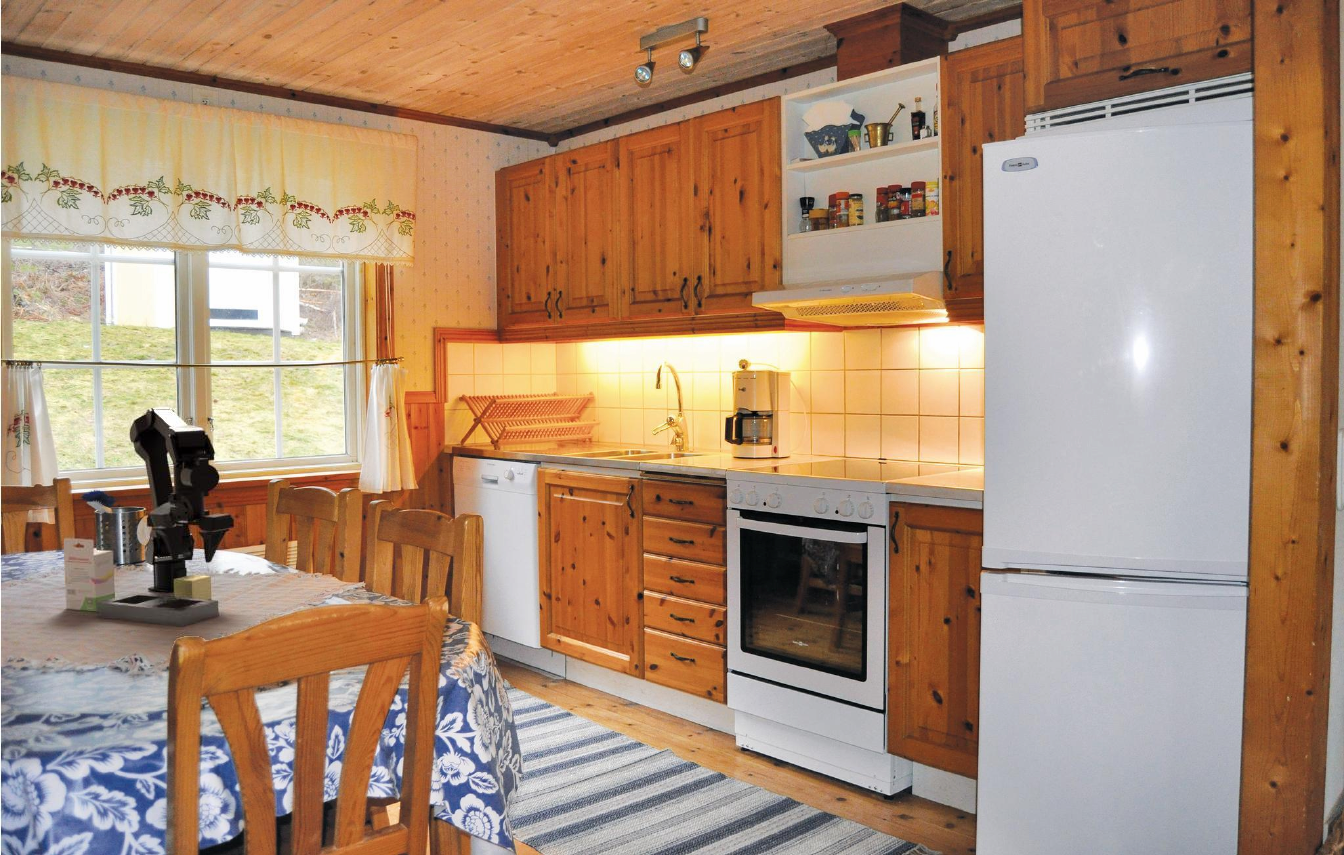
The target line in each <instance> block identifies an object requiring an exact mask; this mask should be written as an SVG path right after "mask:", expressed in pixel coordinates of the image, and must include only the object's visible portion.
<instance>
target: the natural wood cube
mask: <svg viewBox="0 0 1344 855" xmlns="http://www.w3.org/2000/svg"><path fill="white" fill-rule="evenodd" d="M173 594H174V597H184V598H195V599H205V600H212V577H211V576H210V575H199V574H190V575H187V576H185V577H181V578H177V579H174V591H173Z"/></svg>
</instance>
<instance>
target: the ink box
mask: <svg viewBox="0 0 1344 855" xmlns="http://www.w3.org/2000/svg"><path fill="white" fill-rule="evenodd" d="M94 542H95V541H94V539H85V538H66V537H65V538H64V539H63V561H64V563H63V564H64V565H63V566H64V580H65V581H64V582H65V583H64V584H65V585H64V586H65V587H64V588H65V605H66V606H65V607H66V609H67V610H77V611H86V612H97V602H100V601H104V600H108V599H113V598H116V589H115V570H114V566H115V565H114V551H113V550H98V549H97V550H96V549H94V546H95V545H94V544H95V543H94ZM78 544H79V545H82V546H83V547H75V546H74V545H78Z"/></svg>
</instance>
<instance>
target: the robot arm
mask: <svg viewBox="0 0 1344 855" xmlns="http://www.w3.org/2000/svg"><path fill="white" fill-rule="evenodd" d="M129 440H130V443H132V444H133V448H134V452H135V454H137V455H138V456H139V457H140V458H141V459H142V460H143V461H144V464H145V469H146V475H147V480H148V485H149V486H148V487H149V491H150V496H151V503H152V509H153V510H151V511H150V512H149V514H148V515H147V517H146V527H149V528H151V530H150V532H149V539H148V543H147V545H146V548H145V552H144V557H145V563H146V564H148V565H151V566H153V567H152V572H153V586H150V587H148V588H147V590H148V591H153V592H155V591H156V592H165V593H172V592H174V579H177V578H181V577H185V576H188V573H187V569H188V568H187V566H186V561H193V557H194V550H195V549H194V548H195V541H196V540H195V538H194V536H193V534H192V533H191V531H190V526H198V528H199V529H200V530H201V531H198V534H199V536H200V537H201V538H202V540H203V553H204V561H205V563H207V564H208V563H211V562H213V561H212V560H213V559H214V556H215V554H216V552H217V549H218V548H219V546H220V543H221V541H222V540H223V538H224V537H225V534H226V533H227V532H230V529H231V528H234V527H235V523H234V522H235V518H234V517H233V516H232V514H231V513H230V514H229V513H214V514H210V510H209V509H206V506H205V504H206V503H205V497H209V496H210V495H209V494H210V491H212V490H214V489H215V488H216V487H217V486H218V484H219V482H220V474H219V472H218V469H217V468H216V467H214V466H213V465H212V464H210V462H209V461H215V454H216V451H215V449H214V446H213V443H212V440H211V439H210V437H209V435H208V433H207V432H206V431H205V429H204V428H202V427H200V426H196V425H190V424H189V425H188V424H187V423H186V422H185V421H183V420H182V419H181V418H180V417H179V416H178V415H177V414H176V413H175V410H174V408H171V407H169V406H168V407H151V408H148V409H147V410H146V412H145V413H144V414H143V415H141V416H138V417H137V418H136V419H134V420H133V422H132V424H131V426H130V429H129ZM168 455H169V457H170V459H171V461H172V465H173V468H172V470H173V480H172V475H171V471H170V464H169V459H168Z"/></svg>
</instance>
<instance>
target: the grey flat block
mask: <svg viewBox="0 0 1344 855" xmlns="http://www.w3.org/2000/svg"><path fill="white" fill-rule="evenodd" d="M96 612H97V618H102V619H111V620H118V621H128V622H134V623H135V622H137V623H144V624H154V625H156V624H157V625H162V626H163V625H164V626H174V627H181V628H182V627H185V626H189V625H193V624H196V623H199V622H203V621H206V620H209V619H213V618H215V617H219V612H220V611H219V600H212V599H210V600H205V599H195V598H184V597H174V596H172V595H171V596H170V595H162V594H152V593H140V592H133V593H129V594H124V595H121V596H118V597H115V598H113V599H108V600H104V601H100V602H97V611H96Z"/></svg>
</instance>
